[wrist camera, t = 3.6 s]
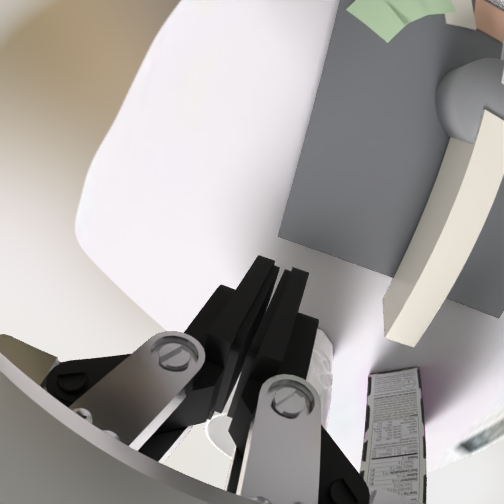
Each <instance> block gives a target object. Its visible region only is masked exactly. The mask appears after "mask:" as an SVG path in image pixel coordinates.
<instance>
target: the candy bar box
mask: <svg viewBox="0 0 504 504" xmlns="http://www.w3.org/2000/svg"><path fill="white" fill-rule="evenodd" d="M360 475H361V477H362V478H363V479H364V481H365V482H366V484H367V486H368V487H369V488H371V489H374V490H375V489H377V488H380V489H383V490H386V491H388V492H391V493H394V494H397V495H399V496H402V497H405V498H408V499H411V500H414V501H417V502H421V503H424V504H426V485H427V484H426V482H427V477H426V441H425V423H424V410H423V399H422V389H421V380H420V372H419V368H418V367H412V368H405V369H401V370H396V371H391V372H383V373H376V374H370V375H368V392H367V407H366V420H365V432H364V441H363V452H362V459H361V467H360Z"/></svg>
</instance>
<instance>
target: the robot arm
mask: <svg viewBox="0 0 504 504" xmlns="http://www.w3.org/2000/svg"><path fill="white" fill-rule="evenodd" d="M274 264H275V261H274V260H271V259H268V258H265V257H262V256H259V255H258V257H257V258H256V260H255V261H254V263H253V264H252V266H251V267H250V269H249V270H248V272H247V273H246V275H245V277H244V278H243V280H242V281H241V283H240V284H239V286H238V287H237V289H236V290H235V289H232V288H229V287H227V286H224V285H220V286H219V287H218V288H217V289H216V291H215V292H214V293H213V295H212V296H211V297H210V299H209V300H208V301H207V303H206V304H205V305H204V307H203V308H202V309H201V311H200V312H199V313H198V315H197V316H196V317H195V319H194V320H193V321H192V323H191V324H190V325H189V327H188V328H187V329H186V331H185V332H184V333H182V332H176V331H166V332H162V333H158V334H156V335H155V336H153V337H151V338H150V339H149V340H148V341H146V342H145V343H144V344H143V345H142V346H140V347H139V348H138V349H137V350H136V351H135V352H133V353H132V354H126V355H118V356H110V357H101V358H92V359H82V360H71V361H66V362H59V361H58V358H57V357H55V356H53V355H51V354H48V353H46V352H44V351H41V350H39V349H37V348H34V347H32V346H30V345H28V344H26V343H24V342H22V341H20V340H18V339H15V338H13V337H12V336H8V335H5V334H2V335H0V504H424V503H421V502H417V501H414V500H411V499H408V498H405V497H402V496H399V495H397V494H394V493H391V492H388V491H386V490H383V489H380V488H377V489H375V490H374V489H371V488H369V487H368V486H367V484H366V482H365V481H364V479H363V478H362V477H361V475H360V474H359V473H358V472H357V470H356V469H355V468H354V467H353V465H352V464H351V463H350V461H349V460H348V459H347V458H346V456H345V455H344V454H343V452H342V451H341V450H340V448H339V447H338V446H337V444H336V443H335V442H334V441H333V439H332V438H331V437H330V435H329V434H328V433H327V431H326V430H325V429H324V427H323V426H322V425H321V400H320V396H319V394H318V392H317V390H316V389H315V388H314V387H313V386H312V385H311V384H310V383H309V382H307V381H306V378H307V374H308V370H309V365H310V361H311V357H312V352H313V347H314V343H315V338H316V333H317V328H318V323H319V320H318V319H316V318H313V317H310V316H307V315H304V314H301V313H298V309H299V306H300V303H301V299H302V296H303V293H304V289H305V286H306V282H307V279H308V275H309V273H308V272H305V271H302V270H299V269H297V268H294V267H293V268H292V271H289V270H286V269H285V270H284V272H283V275H282V277H281V279H280V282H279V284H278V286H277V288H276V291H275V293H274V295H273V297H272V300H271V302H270V304H269V301H270V298H271V294H272V291H273V288H274V285H275V282H276V279H277V276H278V273H279V269H280V267H277V266H274ZM268 304H269V306H268ZM267 307H268V308H267ZM266 310H267V311H266ZM240 374H241V375H240ZM239 376H240V378H239ZM238 378H239V381H238V384H237V387H236V390H235V393H234V396H233V399H232V402H231V405H230V408H229V411H228V414H227V416H228V417H230V418H233V419H232V421H231V424H230V427H229V429H228V432H229V434H230V436H231V437H232V439H233V441H234V443H235V447H234V451H233V455H232V460H231V464H230V468H229V473H228V477H227V481H226V486H225V490H222V489H219V488H216V487H214V486H211V485H209V484H206V483H204V482H201V481H199V480H197V479H194V478H192V477H189V476H187V475H185V474H183V473H180V472H178V471H176V470H174V469H172V468H170V467H167V466H165V465H163V463H164V462H165V461H166V460H167V458H168V457H169V456H170V455H171V454H172V452H173V451H174V450H175V449H176V448H177V446H178V445H179V444H180V443H181V442H182V440H183V439H184V438H185V437H186V435H187V434H188V433H189V432H190V430H191V428H192V427H193V425H196V424H200V423H203V422H206V421H207V419H209V420H211V418H212V416H213V414H214V412H218V413H220V414H221V413H222V412H223V410H224V408H225V405H226V403H227V401H228V399H229V397H230V395H231V393H232V391H233V389H234V386H235V384H236V382H237V380H238Z"/></svg>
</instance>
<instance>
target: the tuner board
mask: <svg viewBox="0 0 504 504" xmlns="http://www.w3.org/2000/svg"><path fill="white" fill-rule="evenodd" d="M503 40H504V10H503V9H502V8H500V7H498V6H497V5H495V4H493V3H492V2H490V1H488V0H340V3H339V7H338V11H337V15H336V19H335V24H334V28H333V32H332V36H331V40H330V44H329V48H328V52H327V56H326V60H325V64H324V68H323V71H322V75H321V79H320V83H319V87H318V91H317V95H316V99H315V102H314V106H313V110H312V114H311V118H310V121H309V125H308V129H307V133H306V136H305V140H304V144H303V147H302V151H301V155H300V159H299V162H298V166H297V169H296V173H295V177H294V180H293V184H292V188H291V191H290V195H289V198H288V202H287V205H286V209H285V213H284V216H283V220H282V223H281V227H280V230H279V234H278V237H280V238H283V239H286V240H289V241H292V242H295V243H298V244H301V245H303V246H306V247H309V248H312V249H315V250H318V251H320V252H323V253H326V254H329V255H332V256H334V257H337V258H340V259H343V260H346V261H348V262H351V263H354V264H357V265H359V266H362V267H365V268H368V269H370V270H373V271H376V272H379V273H381V274H384V275H387V276H389V277H392V278H394V276H395V274H396V272H397V270H398V268H399V266H400V264H401V262H402V259H403V257H404V255H405V253H406V251H407V249H408V247H409V244H410V242H411V240H412V238H413V235H414V233H415V231H416V229H417V226H418V224H419V222H420V219H421V217H422V214H423V212H424V210H425V207H426V205H427V202H428V200H429V197H430V194H431V192H432V189H433V187H434V184H435V181H436V178H437V176H438V173H439V170H440V167H441V164H442V161H443V159H444V156H445V153H446V150H447V146H448V143H449V140H450V137H449V136H448V135H447V133H446V132H445V130H444V129H443V127H442V125H441V123H440V121H439V118H438V115H437V111H436V102H435V101H436V92H437V88H438V85H439V83H440V81H441V80H442V78H443V77H444V76H445V75H446V74H447V73H448V72H450V71H451V70H453V69H456V68H458V67H461V66H463V65H466V64H469V63H471V62H474V61H477V60H479V59H483V58H497V59H501V54H502V47H503ZM446 298H448V299H450V300H453V301H455V302H458V303H461V304H463V305H466V306H468V307H471V308H473V309H476V310H479V311H481V312H484V313H486V314H489V315H491V316H494V317H496V318H499V317H500V316H501V314H502V313H503V311H504V175H503V178H502V181H501V183H500V186H499V189H498V191H497V194H496V197H495V199H494V202H493V204H492V207H491V209H490V211H489V214H488V216H487V218H486V221H485V223H484V225H483V228H482V230H481V232H480V234H479V236H478V238H477V240H476V243H475V245H474V247H473V249H472V251H471V253H470V255H469V257H468V259H467V261H466V263H465V265H464V266H463V268H462V270H461V272H460V274H459V276H458V278H457V279H456V281H455V283H454V285H453V287H452V288H451V290H450V292H449V293H448V295H447V297H446Z"/></svg>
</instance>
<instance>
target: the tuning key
mask: <svg viewBox="0 0 504 504" xmlns="http://www.w3.org/2000/svg"><path fill="white" fill-rule="evenodd" d="M435 102H436V111H437V115H438V118H439V121H440V123H441V125H442V127H443V129H444V130H445V132H446V133H447V135H448V136H449V137H450V140H449V143H448V146H447V150H446V153H445V156H444V159H443V161H442V164H441V167H440V170H439V173H438V176H437V178H436V181H435V184H434V187H433V189H432V192H431V194H430V197H429V200H428V202H427V205H426V207H425V210H424V212H423V214H422V217H421V219H420V222H419V224H418V226H417V229H416V231H415V233H414V235H413V238H412V240H411V242H410V244H409V247H408V249H407V251H406V253H405V255H404V257H403V259H402V262H401V264H400V266H399V268H398V270H397V272H396V274H395V276H394V278H393V280H392V282H391V284H390V286H389V288H388V290H387V292H386V294H385V295H384V297H383V299H382V300H383V314H384V332H385V338H386V339H389V340H392V341H395V342H399V343H402V344H405V345H408V346H411V347H415V345H416V344H417V342H418V341H419V339H420V338H421V336H422V335H423V333H424V332H425V330H426V329H427V327H428V326H429V324H430V323H431V321H432V320H433V318H434V317H435V315H436V313H437V312H438V310H439V309H440V307H441V305H442V304H443V302H444V300H445V299H446V297H447V295H448V293H449V292H450V290H451V288H452V287H453V285H454V283H455V281H456V279H457V278H458V276H459V274H460V272H461V270H462V268H463V266H464V265H465V263H466V261H467V259H468V257H469V255H470V253H471V251H472V249H473V247H474V245H475V243H476V240H477V238H478V236H479V234H480V232H481V230H482V228H483V225H484V223H485V221H486V218H487V216H488V214H489V211H490V209H491V207H492V204H493V202H494V199H495V197H496V194H497V191H498V189H499V186H500V183H501V181H502V178H503V175H504V40H503V47H502V54H501V59H497V58H483V59H479V60H477V61H474V62H471V63H469V64H466V65H463V66H461V67H458V68H456V69H453V70H451V71H450V72H448V73H447V74H446V75H445V76H444V77H443V78H442V80H441V81H440V83H439V85H438V88H437V92H436V101H435Z"/></svg>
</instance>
